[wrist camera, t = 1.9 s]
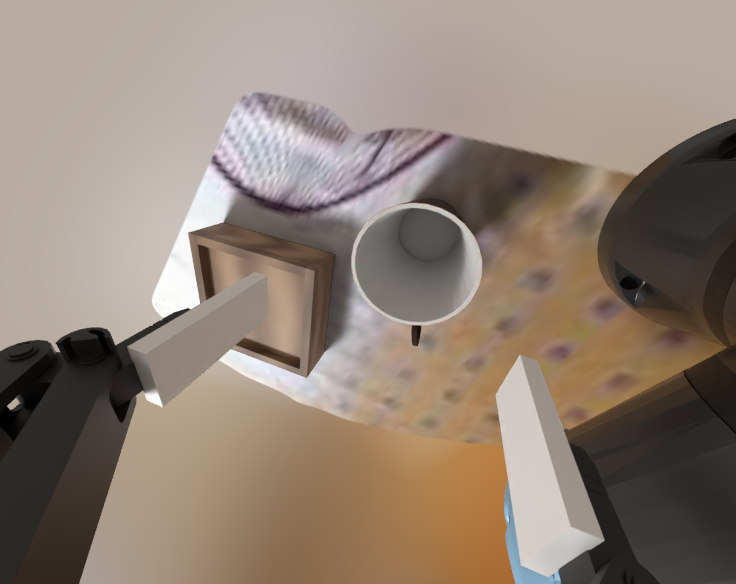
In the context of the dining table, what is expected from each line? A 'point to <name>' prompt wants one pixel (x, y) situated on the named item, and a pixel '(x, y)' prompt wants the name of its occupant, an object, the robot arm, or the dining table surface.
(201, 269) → the wooden tray
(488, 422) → the dining table surface
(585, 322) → the dining table surface
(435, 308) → the coffee mug
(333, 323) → the dining table surface
